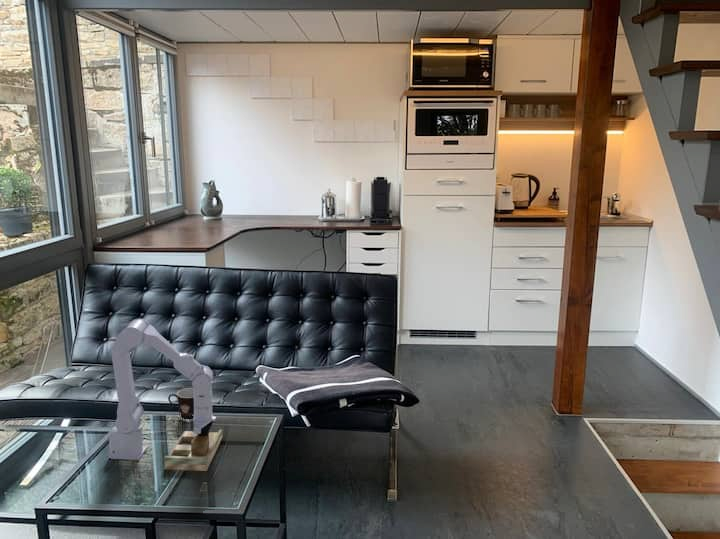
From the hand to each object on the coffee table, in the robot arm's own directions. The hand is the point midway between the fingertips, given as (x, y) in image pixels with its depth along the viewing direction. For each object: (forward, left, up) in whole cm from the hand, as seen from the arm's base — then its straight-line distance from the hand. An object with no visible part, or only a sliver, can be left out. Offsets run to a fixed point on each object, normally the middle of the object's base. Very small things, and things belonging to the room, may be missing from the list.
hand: (203, 443), depth 177 cm
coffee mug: (-13, +23, -3) cm, 26 cm away
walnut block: (0, -4, -1) cm, 4 cm away
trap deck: (-3, -1, -3) cm, 4 cm away
